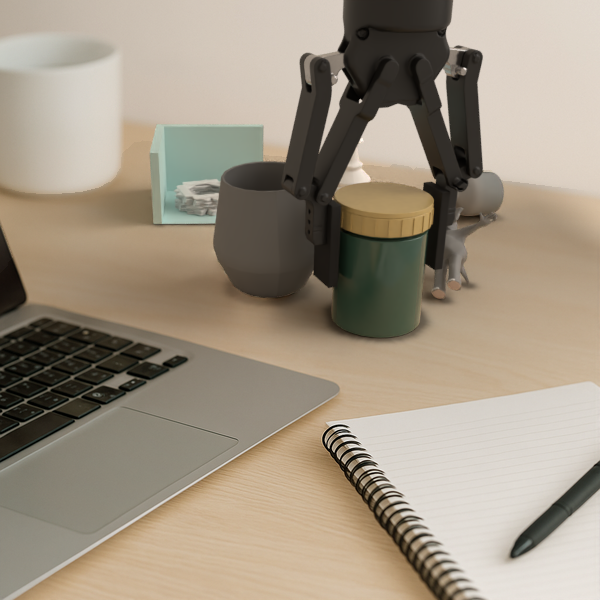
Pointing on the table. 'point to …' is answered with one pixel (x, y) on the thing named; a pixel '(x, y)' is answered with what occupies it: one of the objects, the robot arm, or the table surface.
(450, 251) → the elephant figurine
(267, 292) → the cup
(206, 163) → the l-shaped corner panel
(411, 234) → the jar lid
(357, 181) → the chess pawn
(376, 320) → the jar
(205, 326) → the table surface
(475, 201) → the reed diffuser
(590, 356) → the table surface
